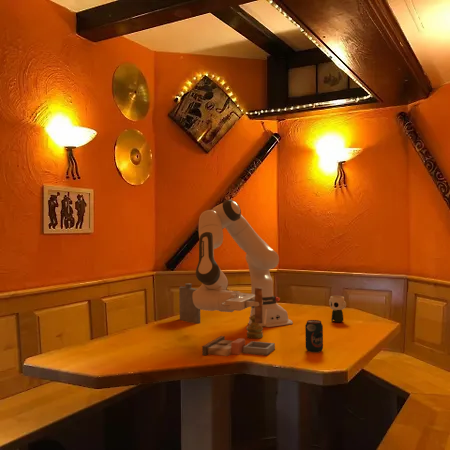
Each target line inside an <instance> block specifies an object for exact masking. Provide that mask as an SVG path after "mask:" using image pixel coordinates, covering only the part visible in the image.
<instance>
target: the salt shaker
mask: <svg viewBox="0 0 450 450" xmlns="http://www.w3.org/2000/svg"><path fill="white" fill-rule="evenodd" d="M248 318H249V319H250V320H251V321H252V323H251V324H248V326H246V337H247V338H249V339H252V340H253V339H255V340H256V339H261V338H263V336H264V331H263V329H264V326H260V324H259V323H255V315H252V316H249V317H248Z"/></svg>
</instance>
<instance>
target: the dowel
mask: <svg viewBox="0 0 450 450" xmlns="http://www.w3.org/2000/svg"><path fill="white" fill-rule="evenodd" d="M255 301H258V302H259V306H255V323H262V288H255Z"/></svg>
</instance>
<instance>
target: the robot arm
mask: <svg viewBox="0 0 450 450" xmlns="http://www.w3.org/2000/svg"><path fill="white" fill-rule="evenodd" d="M241 212H242V211H241V207H240V205H239V204H238V202H236V201H235V200H232V199H228V200H225V201H223V202H222V203H220V204H218V205H216V206H214V207H212V209H206V210H205V211H202V212H201V214H200V215H199V219H198V239H199V242H198V263H197V265H196V269H195V277H196V279H197V280H198V281H199V282H200V283H201V285H200V286H199V287H198V288H196V289H197V290H195V291H194V292H193V295H192V300H193V304H194V305H195V307H196V308H198V309H200V311H201V310H203V311H210V312H213V311H218V312H225V313H233V312H235V311H237V312H238V311H244V310H245V309H248V308H250V316H252V315H255V306H259V302H258V301H255V288H262V323H259V324H260V326H262V327H266V328H271V327H278V326H280V327H281V326H288V325H293V324H294V323H293V320H291V319H289V314H288V311H287V310H286V309H284V307H282V306H281V305H279V304H278V303H277V302H279V301H280V300H281V297H278V296H275V295H274V280H273V278H272V276H271V273H270V272H271V271H270V270H273V269H274V268H276V267H278V265H279V263H280V256H279V254H278V252H276V251H275V250H274V249H273V248H272V247H271V246H269V244H268V243H267V242H266V241H265V240H264V239H262V237H261V236H260V235H259V234H258V233H257V232H256V231H255V229H254V228H253V227H252V226H251V224H250V223H249V222H248V220H247V219H246V218H245V217H244V216H243V215H242V213H241ZM223 229H226V230H227V233H228V234H229V235H230V237H231V238H232V239H233V241H234V242H235V243H236V244H237V246H238V248H240V249H241V250H242V251H243V252H245V253H246V254H245V260H246V263H247V266H248V271H249V275H250V285H251V287H250V288H251V293H247V292H241V291H239V290H227V288H228V287H229V286H228V285H229V280H228V278H227V276H226V274H225V273H224V272H223V271H222V270H221V267H220V266H219V265H218V263H217V262H216V260H215V249H218V248H220V247H221V246H222V244H223V243H224V242H223V241H224V230H223ZM250 316H249V317H250ZM251 323H252V321H251V320H250V319H249V320H248V325H250V324H251Z"/></svg>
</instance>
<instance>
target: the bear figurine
mask: <svg viewBox="0 0 450 450" xmlns="http://www.w3.org/2000/svg"><path fill="white" fill-rule="evenodd" d="M328 305H329V307H330V309H331V310H332V311H331V322H334V323H341V322H344V314H343V313H344V312H343V310H344V309H345V308H346V307H347V301H345V296H342V295H331V296H330V297H329V299H328Z"/></svg>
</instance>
